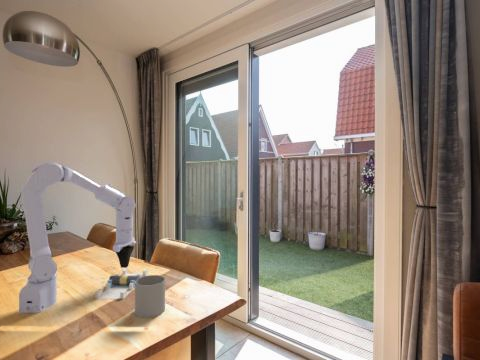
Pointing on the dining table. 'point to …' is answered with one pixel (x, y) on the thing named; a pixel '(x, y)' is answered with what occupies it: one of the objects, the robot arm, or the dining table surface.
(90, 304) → the dining table surface
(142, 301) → the cup
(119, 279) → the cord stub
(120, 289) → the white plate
